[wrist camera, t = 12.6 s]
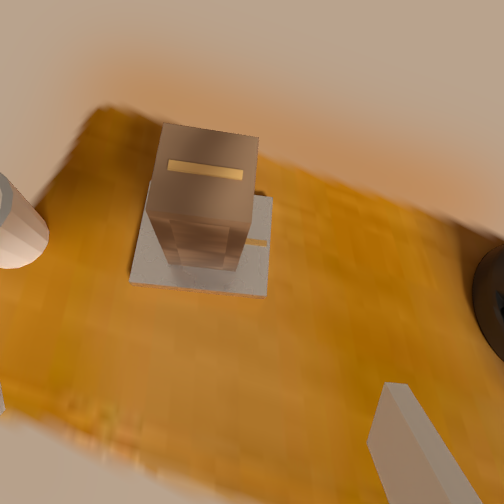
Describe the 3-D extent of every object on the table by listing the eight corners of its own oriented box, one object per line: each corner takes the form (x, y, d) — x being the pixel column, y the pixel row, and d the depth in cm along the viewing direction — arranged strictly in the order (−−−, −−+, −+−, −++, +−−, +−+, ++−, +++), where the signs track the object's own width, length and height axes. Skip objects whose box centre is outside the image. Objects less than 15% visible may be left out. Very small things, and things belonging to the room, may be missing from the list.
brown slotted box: (241, 212, 30) (259, 135, 20) (235, 271, 28) (252, 221, 18) (178, 203, 30) (163, 120, 19) (168, 264, 28) (144, 208, 17)
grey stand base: (269, 204, 33) (284, 169, 27) (263, 299, 30) (278, 284, 23) (152, 188, 32) (139, 148, 25) (132, 285, 28) (112, 266, 22)
